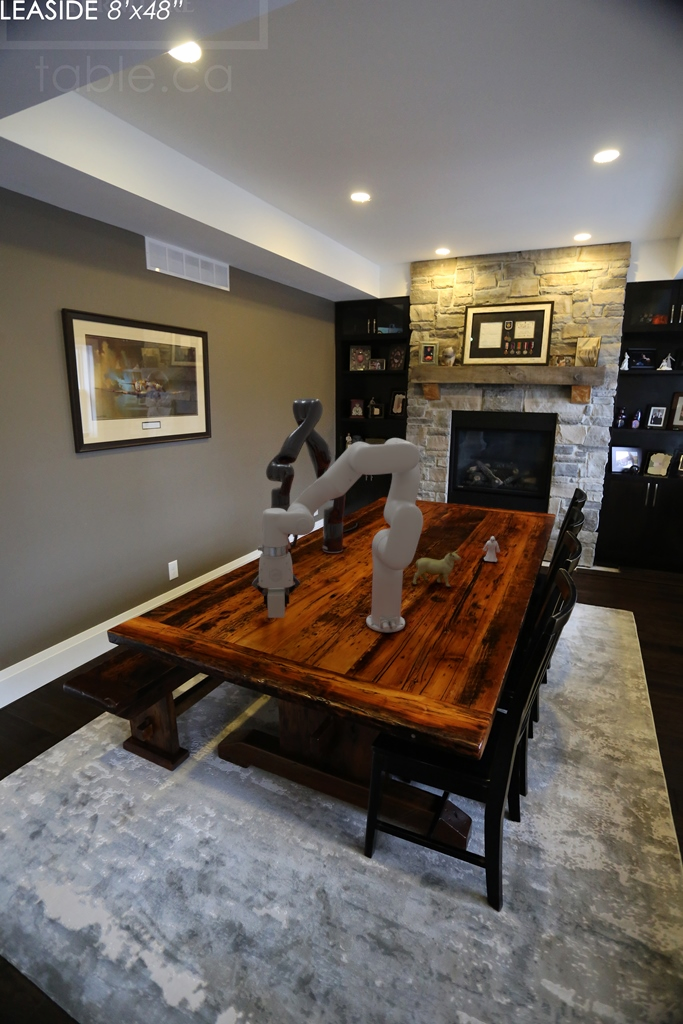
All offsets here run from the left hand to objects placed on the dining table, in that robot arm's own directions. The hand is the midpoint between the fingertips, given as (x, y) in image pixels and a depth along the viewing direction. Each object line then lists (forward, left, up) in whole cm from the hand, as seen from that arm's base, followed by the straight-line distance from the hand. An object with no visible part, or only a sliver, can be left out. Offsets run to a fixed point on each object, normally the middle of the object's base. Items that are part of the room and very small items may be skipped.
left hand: (281, 556), depth 195 cm
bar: (+20, +9, -2) cm, 22 cm away
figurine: (-57, +76, -10) cm, 96 cm away
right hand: (+39, +18, -1) cm, 43 cm away
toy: (-18, +58, -10) cm, 61 cm away
